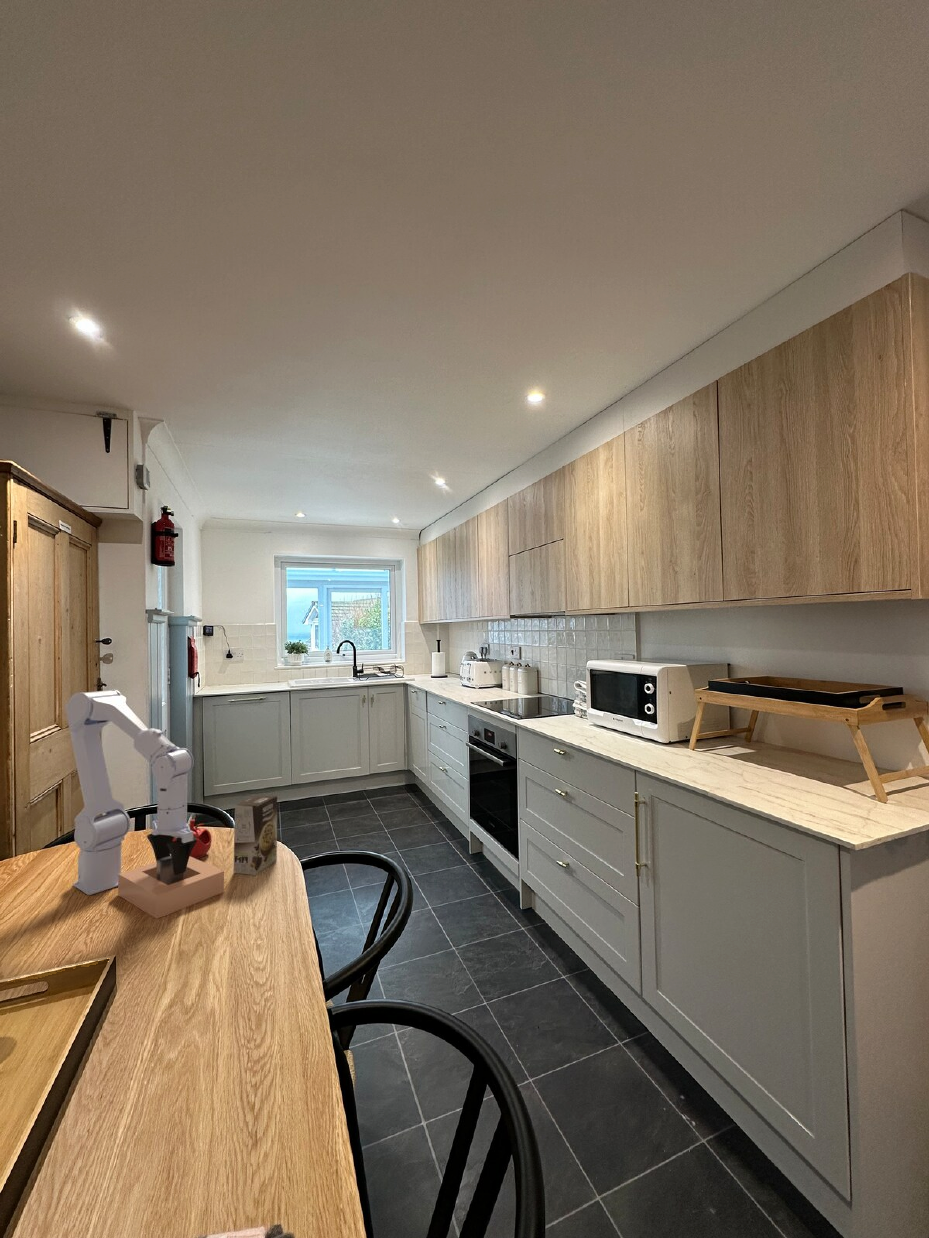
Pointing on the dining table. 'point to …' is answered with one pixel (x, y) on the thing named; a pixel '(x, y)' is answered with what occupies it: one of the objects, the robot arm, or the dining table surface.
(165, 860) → the brushed metal prism
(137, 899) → the holder block
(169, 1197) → the dining table surface
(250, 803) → the coffee box
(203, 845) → the red tomato holder
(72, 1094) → the dining table surface
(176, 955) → the dining table surface
